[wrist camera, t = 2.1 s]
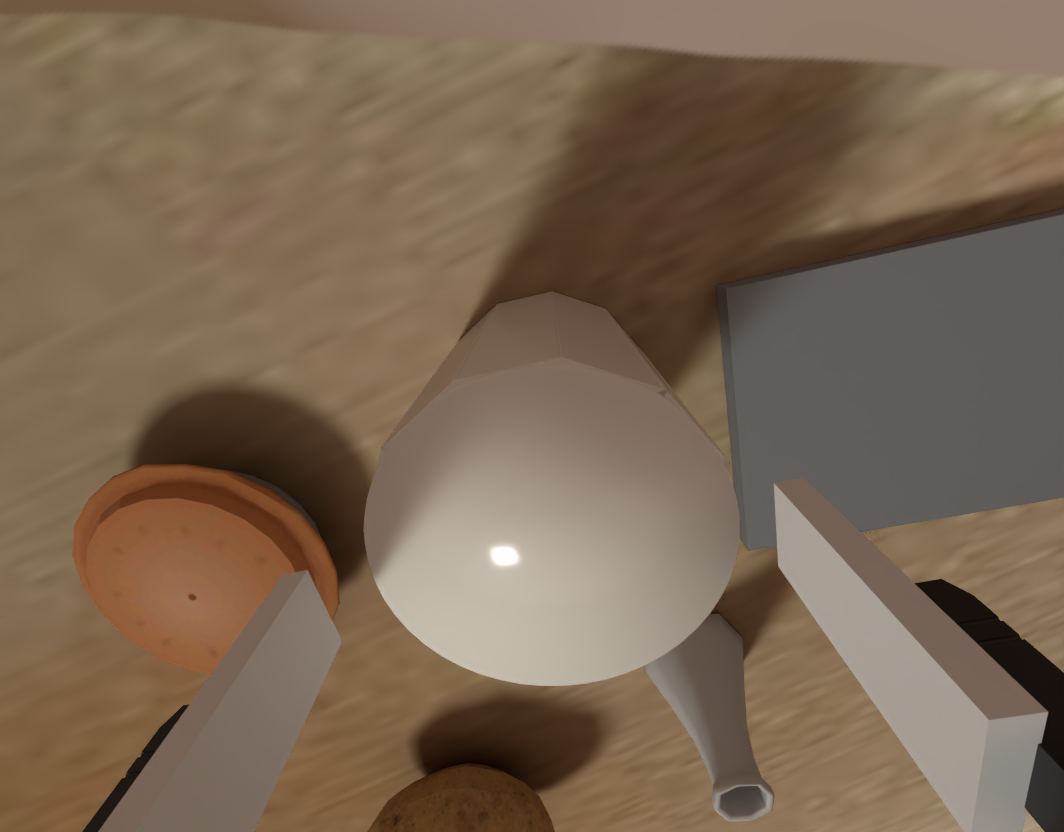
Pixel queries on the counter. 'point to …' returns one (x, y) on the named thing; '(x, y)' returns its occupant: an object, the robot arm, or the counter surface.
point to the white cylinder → (550, 503)
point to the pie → (193, 556)
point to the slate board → (901, 378)
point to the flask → (715, 714)
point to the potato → (465, 804)
